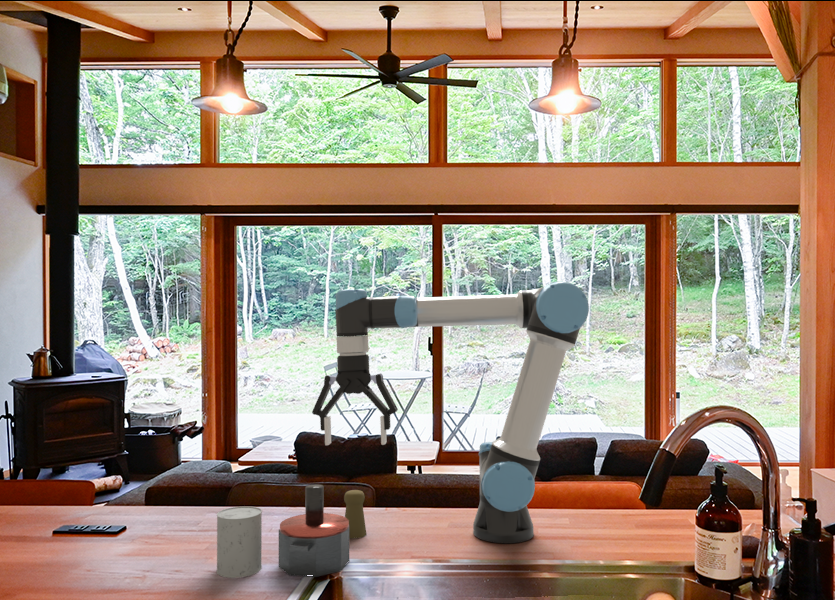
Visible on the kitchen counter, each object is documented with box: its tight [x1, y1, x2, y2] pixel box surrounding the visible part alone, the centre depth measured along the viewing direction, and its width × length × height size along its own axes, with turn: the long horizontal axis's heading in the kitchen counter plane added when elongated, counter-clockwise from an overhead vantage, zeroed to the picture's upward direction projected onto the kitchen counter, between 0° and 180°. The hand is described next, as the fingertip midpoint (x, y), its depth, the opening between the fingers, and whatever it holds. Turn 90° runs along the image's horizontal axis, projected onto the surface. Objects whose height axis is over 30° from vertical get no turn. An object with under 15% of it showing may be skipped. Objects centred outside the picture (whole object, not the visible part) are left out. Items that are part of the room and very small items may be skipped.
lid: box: [279, 484, 349, 539], centre depth 146 cm, size 15×15×11 cm
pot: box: [278, 527, 350, 578], centre depth 146 cm, size 14×19×8 cm
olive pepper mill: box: [343, 489, 367, 540], centre depth 166 cm, size 6×6×11 cm
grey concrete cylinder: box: [216, 505, 263, 579], centre depth 143 cm, size 10×10×12 cm
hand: (355, 444), depth 155 cm, fingers open, 13 cm apart
